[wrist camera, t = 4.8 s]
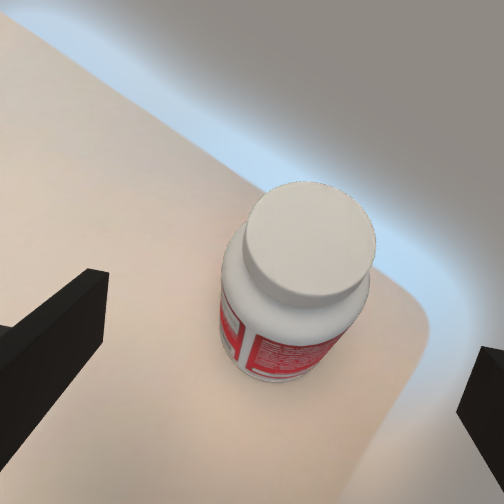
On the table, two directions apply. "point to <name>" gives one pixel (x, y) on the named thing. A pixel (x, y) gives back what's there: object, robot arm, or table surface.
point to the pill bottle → (294, 279)
